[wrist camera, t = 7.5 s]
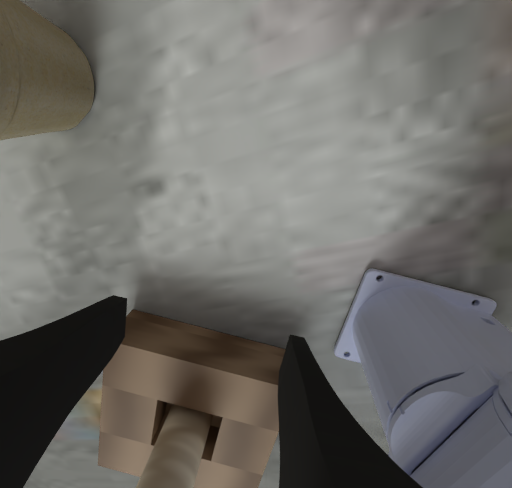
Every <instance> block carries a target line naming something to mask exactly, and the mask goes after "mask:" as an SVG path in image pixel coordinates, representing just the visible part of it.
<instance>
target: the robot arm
mask: <svg viewBox="0 0 512 488" xmlns="http://www.w3.org/2000/svg"><path fill="white" fill-rule="evenodd" d="M379 275H382V277H381V279H376V277H377V276H379ZM474 300H476V302H475V303H472V301H474ZM496 306H497V305H496V302H495V301H494V300H492V299H490V298H487V297H483V296H479V295H475V294H471V293H467V292H463V291H460V290H456V289H452V288H448V287H444V286H440V285H436V284H432V283H428V282H424V281H420V280H416V279H413V278H409V277H405V276H401V275H397V274H393V273H389V272H385V271H381V270H377V269H372V268H371V269H368V270H367V271H366V272H365V274H364V276H363V279H362V281H361V284H360V286H359V289H358V291H357V294H356V296H355V298H354V301H353V303H352V306H351V308H350V311H349V313H348V316H347V318H346V320H345V323H344V325H343V328H342V330H341V333H340V335H339V338H338V340H337V342H336V345H335V347H334V353H335V355H336V356H337V357H339V358H343V359H347V360H351V361H355V362H358V363H361V364H362V367H363V370H364V373H365V376H366V379H367V382H368V385H369V388H370V390H371V393H372V396H373V399H374V402H375V405H376V408H377V411H378V414H379V417H380V420H381V423H382V426H383V429H384V432H385V435H386V438H387V441H388V443H389V454H388V455H387V454H386V453H385V452H384V451H383V450H382V449H381V448H380V447H379V446H378V445H377V444H376V443H375V442H374V441H373V439H372V438H371V437H370V436H369V435H368V434H367V433H366V432H365V430H364V429H363V428H362V427H361V426H360V425H359V424H358V422H357V421H356V420H355V419H354V417H353V416H352V415H351V414H350V412H349V411H348V410H347V408H346V407H345V406H344V405H343V403H342V402H341V400H340V399H339V398H338V396H337V395H336V393H335V392H334V390H333V389H332V387H331V385H330V384H329V382H328V381H327V379H326V377H325V376H324V374H323V372H322V370H321V369H320V367H319V365H318V363H317V361H316V360H315V358H314V356H313V354H312V352H311V350H310V348H309V346H308V344H307V342H306V340H305V339H304V338H303V337H298V336H294V335H290V337H289V340H288V343H287V347H286V350H285V353H284V357H283V360H282V363H281V366H280V370H279V379H278V417H279V437H280V481H279V488H512V332H511V331H510V330H509V329H507V328H506V327H505V326H504V325H503V324H501V323H500V322H499V321H498V320H497V319H496V318H494V317H493V316H492V313H493V312H494V310H495V308H496ZM126 309H127V298H123V297H118V296H114V295H113V296H111V297H108V298H106V299H104V300H101V301H99V302H97V303H95V304H93V305H91V306H88V307H86V308H84V309H82V310H80V311H77V312H75V313H73V314H71V315H69V316H66V317H64V318H61V319H59V320H57V321H54V322H52V323H49V324H47V325H44V326H42V327H39V328H37V329H34V330H31V331H29V332H26V333H23V334H20V335H17V336H14V337H11V338H8V339H5V340H1V341H0V488H23V486H24V485H25V483H26V481H27V480H28V478H29V476H30V475H31V473H32V471H33V470H34V468H35V466H36V465H37V463H38V461H39V460H40V458H41V457H42V455H43V453H44V452H45V450H46V449H47V447H48V445H49V444H50V442H51V441H52V439H53V438H54V436H55V434H56V433H57V431H58V430H59V428H60V427H61V425H62V424H63V422H64V421H65V419H66V418H67V416H68V415H69V413H70V412H71V410H72V409H73V408H74V406H75V405H76V404H77V402H78V401H79V400H80V399H81V397H82V396H83V395H84V394H85V392H86V391H87V390H88V388H89V387H90V386H91V385H92V383H93V382H94V381H95V380H96V378H97V377H98V376H99V375H100V373H101V372H102V371H103V369H104V368H105V367H106V365H107V364H108V363H109V362H110V360H111V359H112V358H113V356H114V354H115V353H116V351H117V350H118V348H119V346H120V345H121V343H122V341H123V339H124V338H125V328H126ZM345 352H349V353H347V354H344V353H345Z"/></svg>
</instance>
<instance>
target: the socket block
mask: <svg viewBox="0 0 512 488" xmlns="http://www.w3.org/2000/svg"><path fill="white" fill-rule="evenodd" d="M285 350H286V349H282V348H278V347H275V346H271V345H267V344H263V343H259V342H255V341H252V340H248V339H244V338H240V337H236V336H233V335H229V334H225V333H221V332H217V331H213V330H210V329H206V328H202V327H198V326H194V325H190V324H187V323H183V322H179V321H175V320H171V319H168V318H164V317H160V316H156V315H152V314H148V313H145V312H141V311H137V310H132V311H131V312H130V313H129V314H128V315H127V316H126V328H125V338H124V339H123V341H122V343H121V345H120V346H119V348H118V350H117V351H116V353H115V354H114V356H113V358H112V359H111V360H110V362H109V363H108V364H107V365H106V367H105V368H104V369H103V384H102V402H101V419H100V436H99V454H98V466H102V467H106V468H109V469H113V470H117V471H120V472H124V473H128V474H132V475H135V476H139V477H141V475H142V473H143V470H144V468H145V466H146V464H147V461H148V459H149V457H150V454H151V452H152V450H153V448H154V445H155V443H156V441H157V438H158V436H159V434H160V432H161V429H162V427H163V425H164V422H165V420H166V418H167V416H168V413H169V411H170V409H171V406H172V404H175V405H179V406H183V407H186V408H190V409H194V410H198V411H201V412H205V413H209V414H213V417H212V421H211V425H210V428H209V432H208V436H207V439H206V443H205V447H204V450H203V454H202V458H201V461H200V465H199V469H198V473H197V476H196V480H195V484H194V487H193V488H258V486H259V483H260V481H261V478H262V475H263V473H264V470H265V467H266V464H267V462H268V459H269V456H270V454H271V451H272V448H273V446H274V443H275V440H276V438H277V435H278V432H279V417H278V379H279V370H280V366H281V363H282V360H283V357H284V353H285Z"/></svg>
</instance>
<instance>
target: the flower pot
mask: <svg viewBox="0 0 512 488" xmlns="http://www.w3.org/2000/svg"><path fill="white" fill-rule="evenodd" d="M93 99H94V80H93V75H92V71H91V68H90V65H89V62H88V60H87V58H86V56H85V55H84V53H83V52H82V51H81V49H80V48H79V47H78V46H77V44H76V43H75V42H74V41H73V39H72V38H71V37H70V36H69V35H68V34H67V33H65V32H64V31H63V30H62V29H60V28H58V27H57V26H55V25H54V24H52V23H51V22H49V21H48V20H47V19H45V18H44V17H42V16H41V15H39V14H38V13H37V12H35V11H34V10H32V9H31V8H30V7H28V6H27V5H25V4H24V3H22V2H21V1H19V0H0V140H4V139H10V138H16V137H23V136H29V135H35V134H41V133H48V132H55V131H64V130H69V129H72V128H74V127H76V126H77V125H78V124H79V123H80V121H81V120H82V119H83V118H84V117H85V116H86V115H87V113H88V112H89V111H90V109H91V107H92V103H93Z"/></svg>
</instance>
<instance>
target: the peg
mask: <svg viewBox="0 0 512 488" xmlns="http://www.w3.org/2000/svg"><path fill="white" fill-rule="evenodd" d="M212 417H213V414H209V413H205V412H201V411H198V410H194V409H190V408H186V407H183V406H179V405H175V404H172V406H171V409H170V411H169V413H168V416H167V418H166V420H165V422H164V425H163V427H162V429H161V432H160V434H159V436H158V438H157V441H156V443H155V445H154V448H153V450H152V452H151V454H150V457H149V459H148V461H147V464H146V466H145V468H144V470H143V473H142V475H141V477H140V480H139V482H138V484H137V486H136V488H193V487H194V484H195V480H196V476H197V473H198V469H199V465H200V461H201V458H202V454H203V450H204V447H205V443H206V439H207V436H208V432H209V428H210V425H211V421H212Z"/></svg>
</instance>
